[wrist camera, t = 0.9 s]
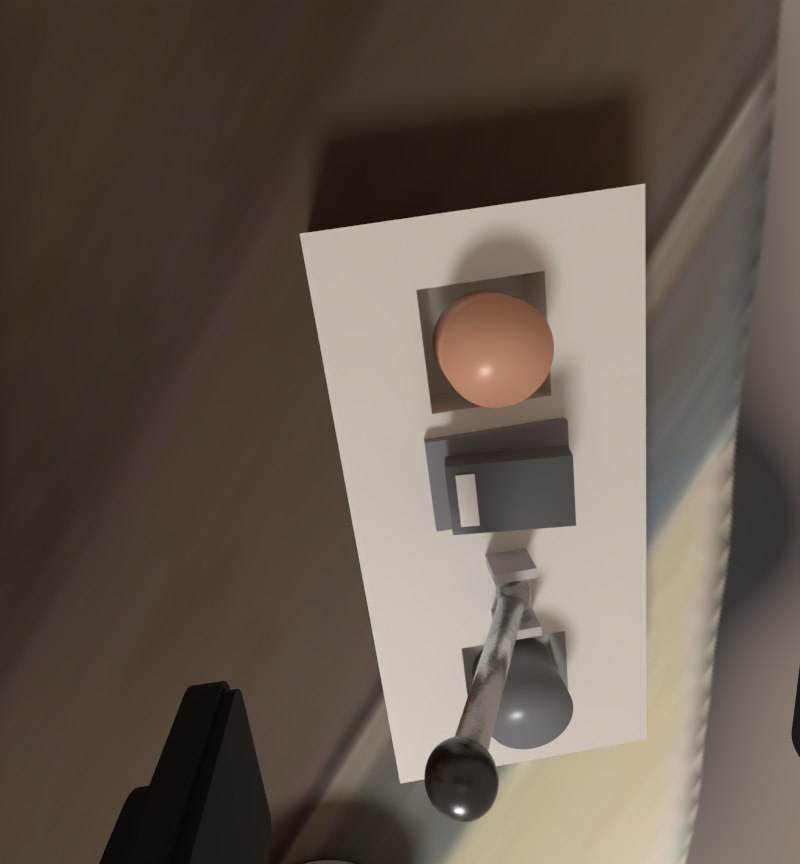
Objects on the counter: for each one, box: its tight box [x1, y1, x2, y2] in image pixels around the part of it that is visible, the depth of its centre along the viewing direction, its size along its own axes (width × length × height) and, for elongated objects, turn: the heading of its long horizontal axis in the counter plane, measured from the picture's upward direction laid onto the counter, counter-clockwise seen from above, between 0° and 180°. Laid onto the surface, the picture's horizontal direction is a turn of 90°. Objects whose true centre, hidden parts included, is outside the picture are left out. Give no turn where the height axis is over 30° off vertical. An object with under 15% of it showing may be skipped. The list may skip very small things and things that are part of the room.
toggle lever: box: [425, 579, 532, 823], centre depth 23 cm, size 2×2×12 cm
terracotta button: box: [432, 290, 554, 408], centre depth 24 cm, size 4×4×3 cm
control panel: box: [300, 184, 647, 783], centre depth 29 cm, size 29×14×6 cm, turn 8°
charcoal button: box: [472, 637, 573, 749], centre depth 30 cm, size 4×4×3 cm
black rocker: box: [445, 445, 576, 535], centre depth 25 cm, size 3×5×1 cm, turn 98°
